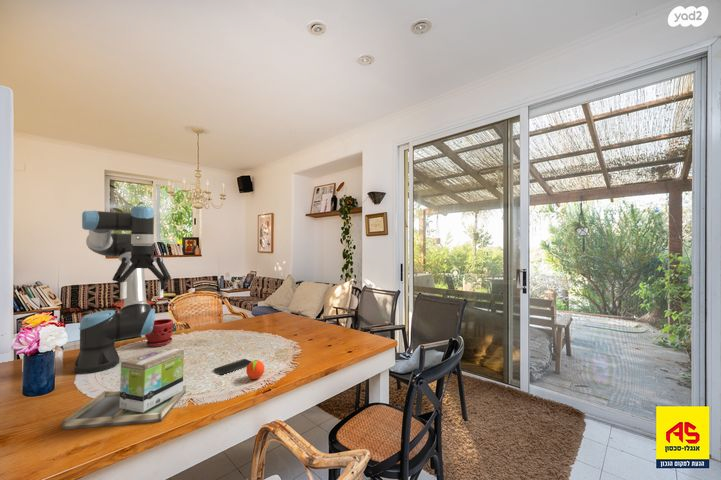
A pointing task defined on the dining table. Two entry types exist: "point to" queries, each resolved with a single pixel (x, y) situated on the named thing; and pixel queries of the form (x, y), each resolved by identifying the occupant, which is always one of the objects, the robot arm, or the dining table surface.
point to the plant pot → (160, 333)
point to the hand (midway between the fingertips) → (142, 298)
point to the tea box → (151, 378)
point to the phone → (232, 366)
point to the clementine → (255, 369)
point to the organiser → (116, 412)
